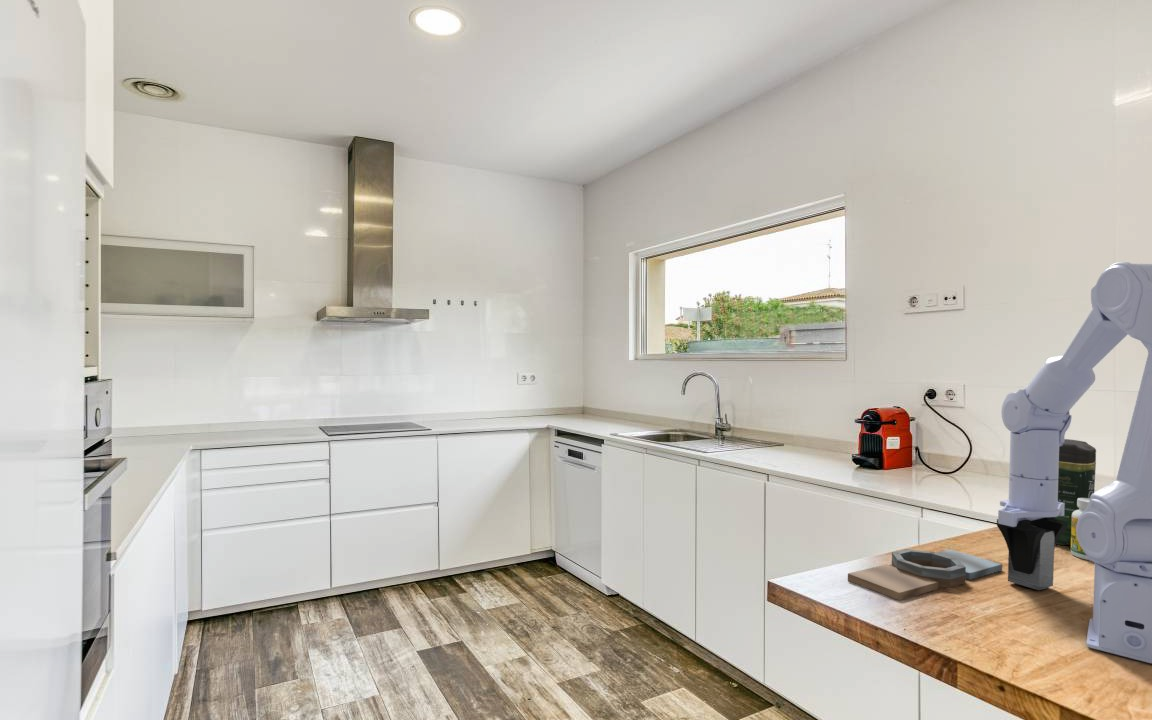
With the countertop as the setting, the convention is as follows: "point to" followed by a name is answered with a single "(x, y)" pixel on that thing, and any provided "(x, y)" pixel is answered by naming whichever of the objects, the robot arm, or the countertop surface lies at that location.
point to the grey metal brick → (1037, 565)
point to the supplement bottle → (1075, 545)
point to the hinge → (923, 572)
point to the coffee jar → (1074, 479)
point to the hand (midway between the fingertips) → (1030, 569)
